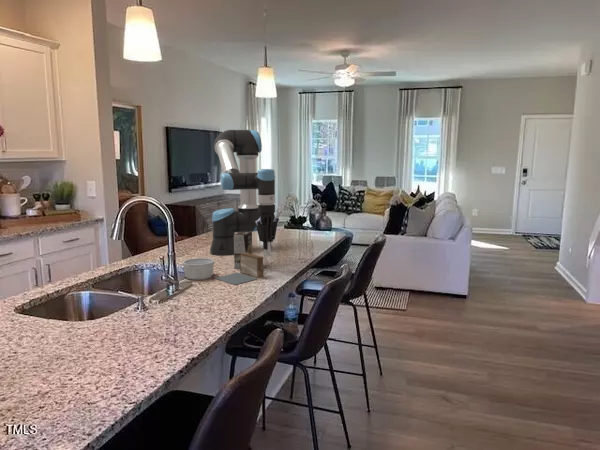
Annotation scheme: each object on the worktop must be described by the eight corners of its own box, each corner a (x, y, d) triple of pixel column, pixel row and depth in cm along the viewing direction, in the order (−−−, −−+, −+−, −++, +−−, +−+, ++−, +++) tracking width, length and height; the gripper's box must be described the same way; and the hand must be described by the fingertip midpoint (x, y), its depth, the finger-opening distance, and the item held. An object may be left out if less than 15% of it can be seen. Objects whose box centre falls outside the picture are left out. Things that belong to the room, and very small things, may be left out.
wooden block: (245, 272, 202) (245, 252, 200) (263, 277, 193) (263, 256, 192) (240, 273, 199) (239, 253, 198) (258, 278, 191) (257, 258, 190)
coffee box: (247, 269, 206) (246, 234, 203) (234, 268, 207) (233, 234, 205) (253, 264, 215) (252, 231, 212) (240, 263, 216) (239, 231, 213)
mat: (237, 273, 199) (237, 272, 199) (257, 279, 190) (257, 278, 190) (215, 278, 191) (214, 277, 191) (235, 285, 181) (235, 284, 181)
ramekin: (204, 270, 204) (203, 256, 203) (220, 276, 194) (220, 260, 193) (177, 276, 195) (177, 261, 193) (194, 282, 185) (193, 266, 184)
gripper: (261, 206, 191) (262, 259, 195) (283, 203, 200) (283, 254, 204) (249, 204, 196) (251, 257, 200) (271, 202, 205) (272, 252, 209)
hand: (267, 255), depth 202 cm, fingers closed
